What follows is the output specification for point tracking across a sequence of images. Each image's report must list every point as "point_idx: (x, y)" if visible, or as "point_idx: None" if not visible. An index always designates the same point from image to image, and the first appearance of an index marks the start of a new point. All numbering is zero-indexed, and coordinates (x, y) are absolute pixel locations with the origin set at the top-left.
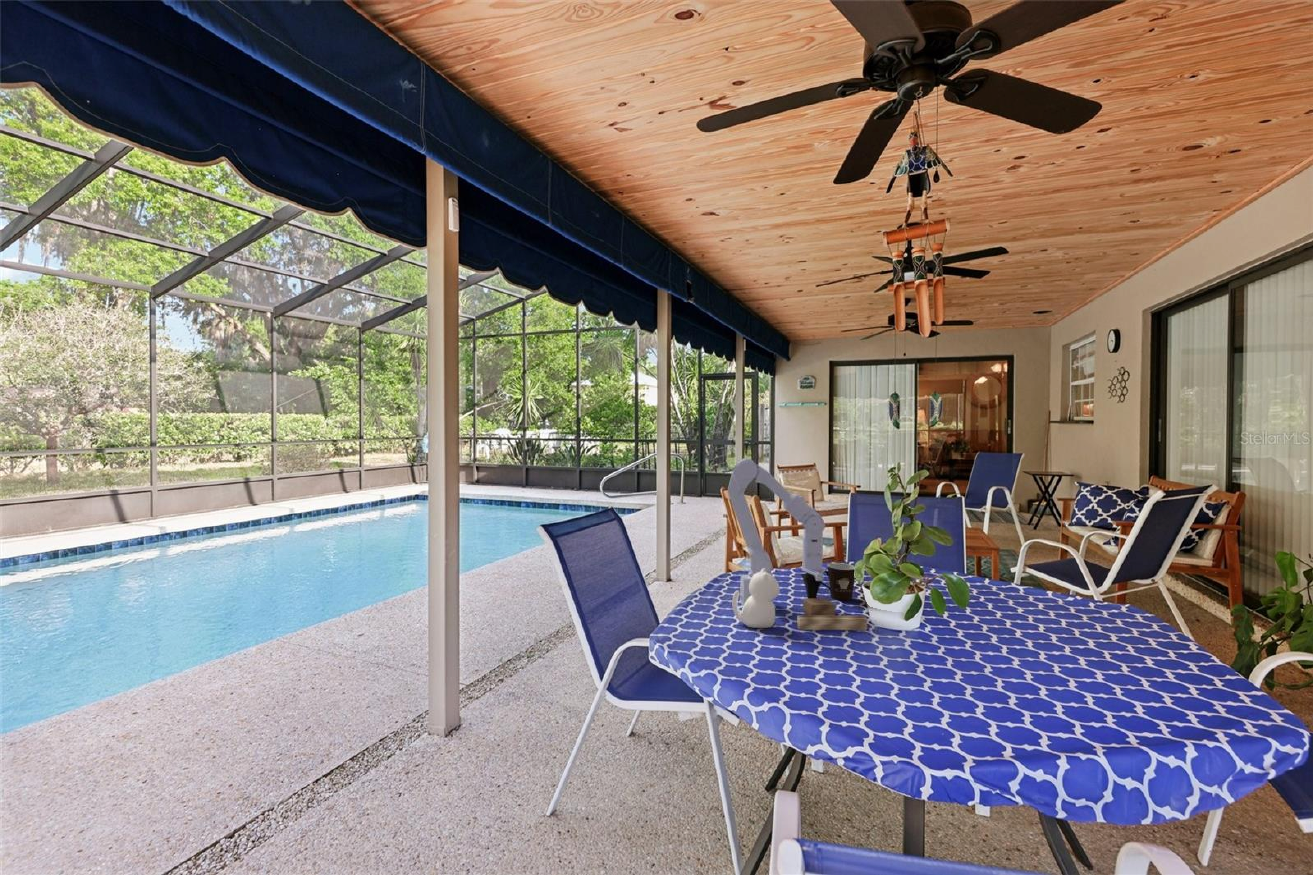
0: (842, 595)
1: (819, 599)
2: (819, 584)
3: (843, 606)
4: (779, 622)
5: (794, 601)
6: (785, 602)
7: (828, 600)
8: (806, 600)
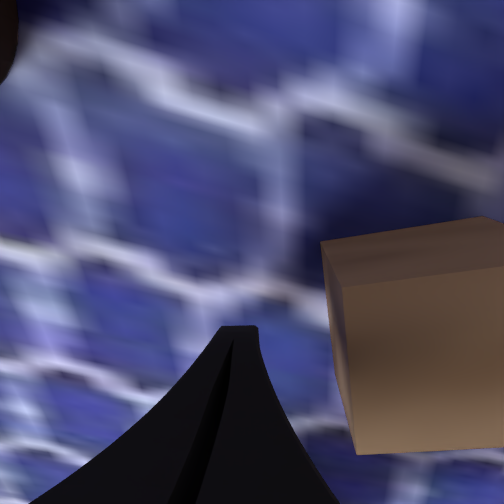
0: None
1: (391, 354)
2: (304, 459)
3: (191, 48)
4: (494, 493)
5: (140, 370)
6: None
7: (435, 284)
8: (409, 447)
